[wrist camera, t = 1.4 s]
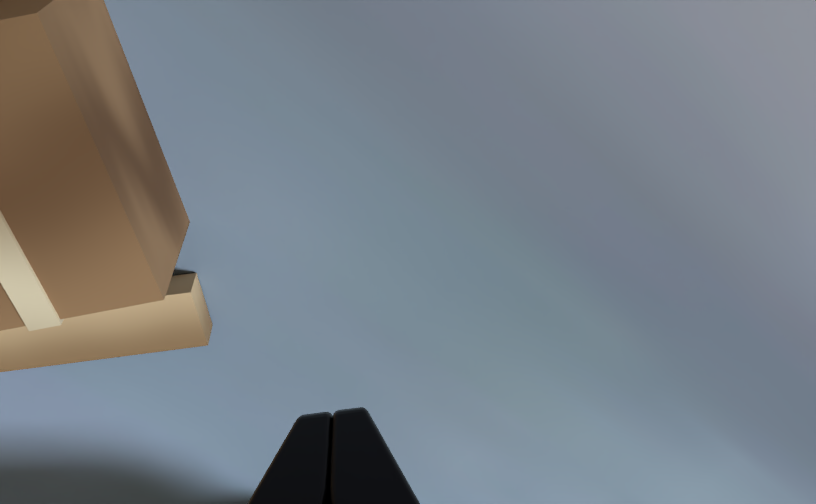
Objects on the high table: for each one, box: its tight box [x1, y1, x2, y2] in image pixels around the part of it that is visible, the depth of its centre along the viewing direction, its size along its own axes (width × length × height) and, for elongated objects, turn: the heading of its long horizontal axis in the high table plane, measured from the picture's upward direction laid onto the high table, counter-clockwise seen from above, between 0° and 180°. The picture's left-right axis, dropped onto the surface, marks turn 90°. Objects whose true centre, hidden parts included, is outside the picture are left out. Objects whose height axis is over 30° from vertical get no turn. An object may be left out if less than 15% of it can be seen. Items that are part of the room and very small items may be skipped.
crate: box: [0, 0, 190, 331], centre depth 18 cm, size 7×6×4 cm
